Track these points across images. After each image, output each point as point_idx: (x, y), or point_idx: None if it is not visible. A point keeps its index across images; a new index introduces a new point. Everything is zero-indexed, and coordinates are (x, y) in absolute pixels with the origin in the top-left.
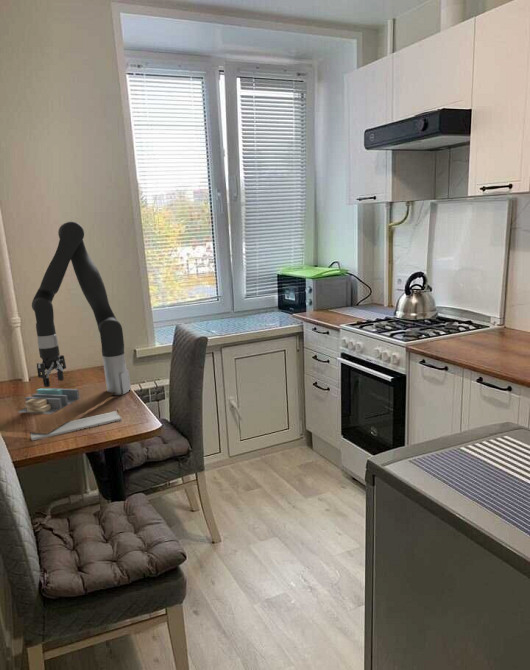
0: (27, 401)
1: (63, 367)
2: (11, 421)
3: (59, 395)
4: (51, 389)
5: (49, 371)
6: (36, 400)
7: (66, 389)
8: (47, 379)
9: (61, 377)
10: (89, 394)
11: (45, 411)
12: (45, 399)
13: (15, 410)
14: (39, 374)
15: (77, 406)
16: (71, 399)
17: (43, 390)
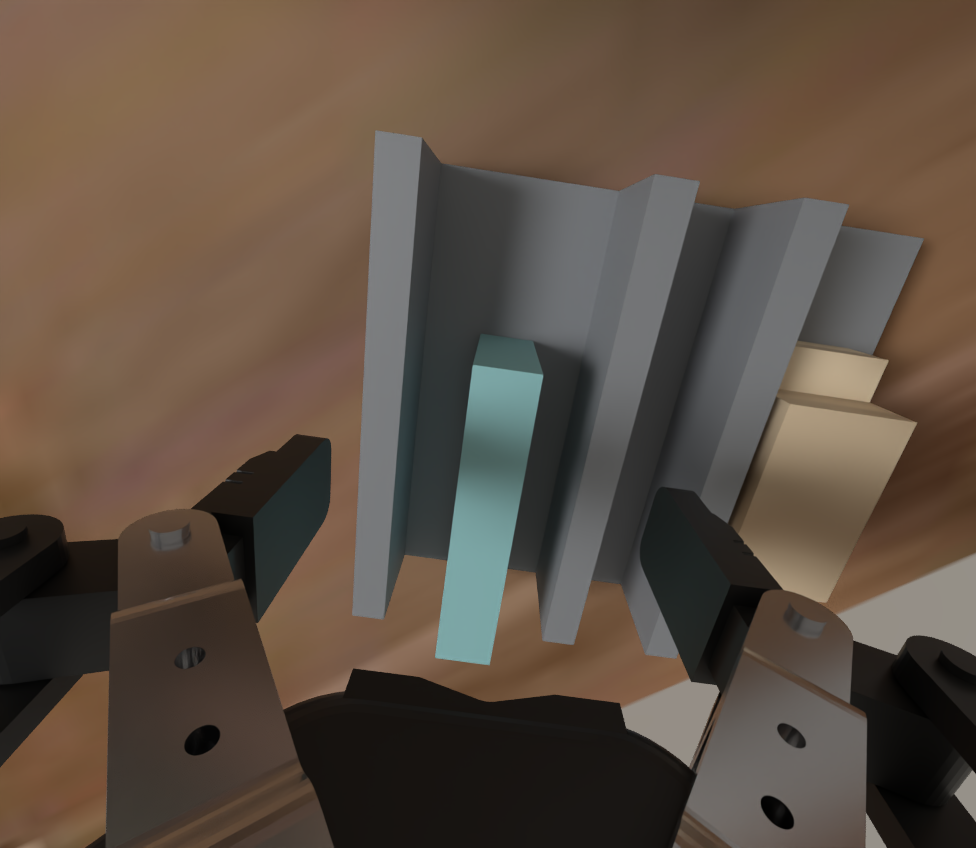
0: (810, 584)
1: (45, 572)
2: (873, 563)
3: (652, 299)
4: (480, 505)
5: (827, 700)
6: (803, 504)
7: (389, 338)
8: (754, 576)
9: (307, 472)
10: (168, 180)
11: (829, 345)
12: (791, 412)
13: (615, 654)
14: (957, 829)
15: (568, 107)
16: (447, 251)
17: (502, 585)
